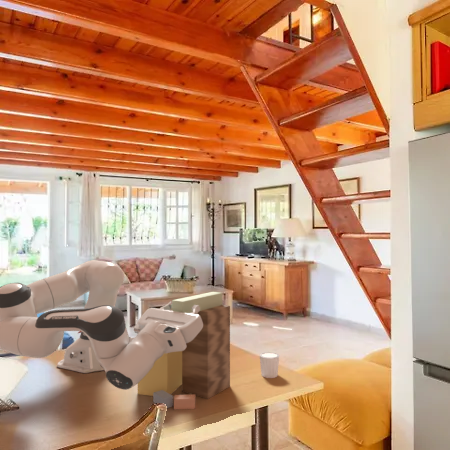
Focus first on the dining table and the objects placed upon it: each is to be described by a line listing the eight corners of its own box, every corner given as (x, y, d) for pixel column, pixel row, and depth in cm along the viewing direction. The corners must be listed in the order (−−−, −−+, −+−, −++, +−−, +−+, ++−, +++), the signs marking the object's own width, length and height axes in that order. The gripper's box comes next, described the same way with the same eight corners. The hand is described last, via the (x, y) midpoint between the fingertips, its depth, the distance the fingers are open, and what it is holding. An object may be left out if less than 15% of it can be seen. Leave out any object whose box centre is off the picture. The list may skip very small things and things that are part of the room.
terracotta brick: (173, 409, 115) (173, 399, 115) (174, 405, 118) (174, 394, 118) (195, 409, 116) (195, 398, 116) (195, 404, 119) (195, 394, 119)
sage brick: (182, 315, 117) (182, 301, 117) (172, 313, 120) (172, 300, 120) (222, 304, 134) (222, 292, 134) (212, 303, 136) (212, 291, 136)
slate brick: (153, 402, 120) (153, 392, 120) (162, 399, 122) (162, 389, 122) (164, 409, 115) (164, 398, 115) (173, 406, 117) (173, 396, 117)
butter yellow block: (137, 394, 126) (137, 342, 126) (155, 380, 137) (155, 332, 137) (167, 397, 123) (167, 344, 123) (182, 383, 134) (182, 334, 134)
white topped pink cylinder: (255, 375, 142) (255, 355, 142) (267, 370, 147) (267, 350, 147) (271, 380, 137) (271, 359, 137) (283, 374, 142) (283, 354, 142)
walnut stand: (207, 399, 122) (207, 312, 122) (182, 391, 128) (182, 308, 128) (229, 386, 132) (229, 305, 132) (205, 379, 138) (205, 302, 138)
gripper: (134, 339, 119) (163, 309, 129) (188, 351, 107) (215, 317, 117) (126, 323, 116) (156, 293, 126) (180, 333, 105) (209, 300, 114)
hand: (185, 305), depth 121 cm, fingers open, 8 cm apart
